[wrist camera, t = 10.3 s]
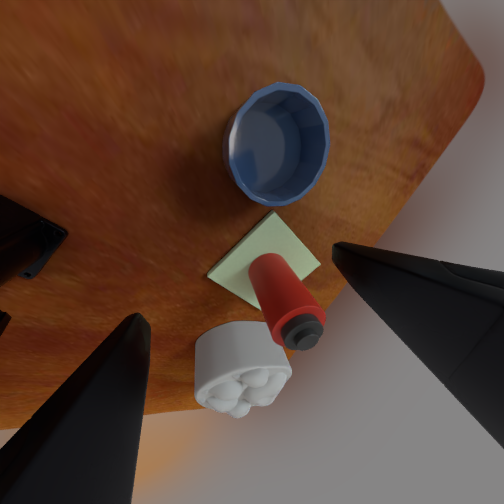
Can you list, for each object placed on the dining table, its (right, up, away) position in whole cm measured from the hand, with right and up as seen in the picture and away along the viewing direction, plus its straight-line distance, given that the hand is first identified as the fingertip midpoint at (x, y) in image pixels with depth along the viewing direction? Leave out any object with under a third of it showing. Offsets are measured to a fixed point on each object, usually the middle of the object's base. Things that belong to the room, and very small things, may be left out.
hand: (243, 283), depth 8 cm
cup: (+2, +11, +9) cm, 15 cm away
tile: (+2, -1, +16) cm, 16 cm away
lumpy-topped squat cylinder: (-2, -14, +23) cm, 27 cm away
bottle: (+2, -1, +16) cm, 16 cm away
